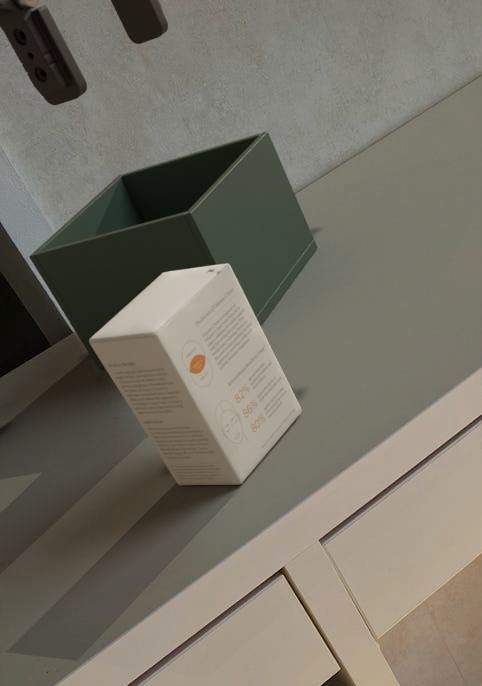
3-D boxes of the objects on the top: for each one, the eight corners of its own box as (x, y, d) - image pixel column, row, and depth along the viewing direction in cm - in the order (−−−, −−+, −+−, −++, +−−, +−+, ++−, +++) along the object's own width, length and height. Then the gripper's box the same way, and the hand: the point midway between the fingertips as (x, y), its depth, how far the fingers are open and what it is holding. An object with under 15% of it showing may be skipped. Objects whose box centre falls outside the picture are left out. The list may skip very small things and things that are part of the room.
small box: (241, 415, 71) (163, 269, 64) (305, 412, 69) (231, 259, 62) (175, 488, 67) (83, 339, 60) (241, 487, 64) (152, 331, 57)
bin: (98, 369, 87) (28, 256, 80) (175, 282, 96) (118, 175, 90) (252, 337, 81) (190, 212, 74) (318, 247, 91) (267, 130, 84)
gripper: (-65, -344, 48) (123, 40, 59) (-291, -304, 39) (-21, 141, 50) (57, -417, 45) (232, 2, 56) (-158, -392, 36) (100, 102, 47)
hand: (112, 67), depth 53 cm, fingers open, 8 cm apart
